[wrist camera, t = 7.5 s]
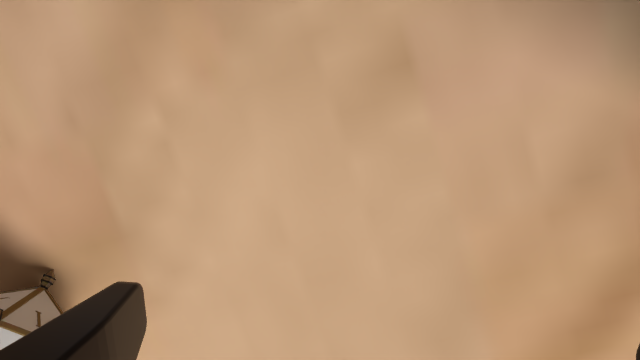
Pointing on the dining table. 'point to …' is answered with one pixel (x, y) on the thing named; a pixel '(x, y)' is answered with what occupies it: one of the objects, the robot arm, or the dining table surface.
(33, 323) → the game die
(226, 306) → the dining table surface
